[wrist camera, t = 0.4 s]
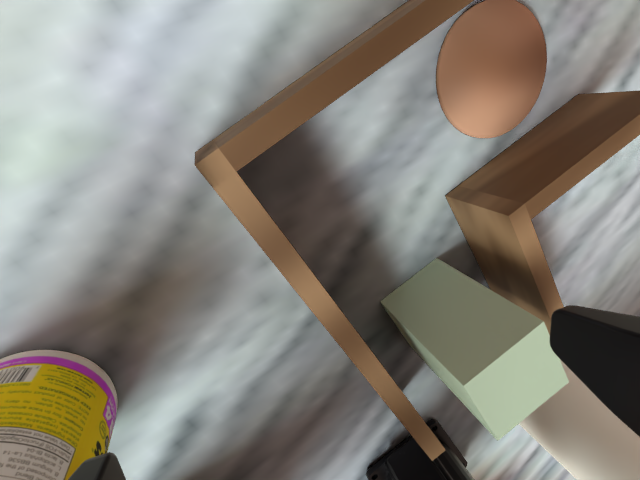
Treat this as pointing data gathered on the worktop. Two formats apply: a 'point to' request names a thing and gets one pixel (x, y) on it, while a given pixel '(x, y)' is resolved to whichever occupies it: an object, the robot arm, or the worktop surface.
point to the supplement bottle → (52, 414)
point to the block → (477, 345)
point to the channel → (471, 195)
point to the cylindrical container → (585, 434)
